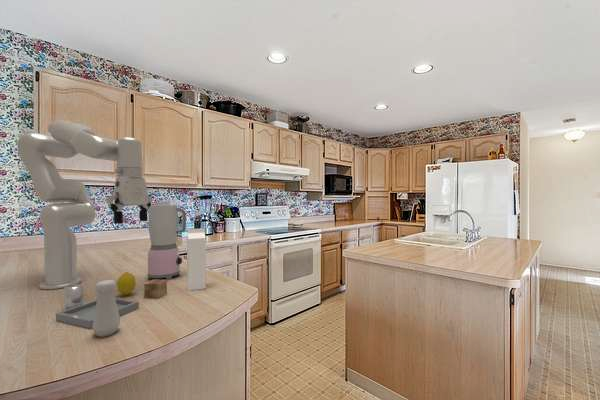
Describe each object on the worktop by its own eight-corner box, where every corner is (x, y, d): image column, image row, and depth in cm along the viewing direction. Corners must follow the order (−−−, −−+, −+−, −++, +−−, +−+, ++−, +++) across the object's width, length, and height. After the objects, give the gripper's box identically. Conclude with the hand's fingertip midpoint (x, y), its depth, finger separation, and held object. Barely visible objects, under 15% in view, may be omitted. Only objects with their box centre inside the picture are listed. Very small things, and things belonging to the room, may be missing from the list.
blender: (141, 281, 112) (140, 201, 112) (157, 272, 125) (156, 201, 124) (180, 281, 112) (179, 201, 112) (192, 272, 124) (191, 201, 124)
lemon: (127, 298, 93) (126, 274, 93) (113, 297, 94) (112, 274, 94) (139, 293, 99) (139, 270, 98) (126, 292, 100) (126, 269, 100)
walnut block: (144, 298, 94) (144, 283, 94) (153, 293, 99) (153, 279, 98) (158, 299, 93) (158, 284, 93) (166, 293, 98) (166, 279, 98)
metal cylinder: (61, 311, 83) (61, 287, 83) (77, 305, 88) (77, 283, 87) (71, 313, 82) (70, 289, 82) (87, 307, 86) (86, 284, 86)
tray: (55, 320, 77) (55, 313, 77) (106, 302, 90) (106, 296, 90) (90, 328, 72) (90, 321, 72) (138, 308, 85) (138, 301, 85)
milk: (187, 286, 106) (186, 228, 106) (204, 284, 109) (203, 227, 109) (188, 291, 101) (187, 230, 100) (206, 288, 103) (205, 229, 103)
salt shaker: (102, 327, 73) (101, 277, 72) (125, 326, 73) (124, 277, 73) (86, 339, 67) (86, 285, 67) (112, 338, 67) (111, 284, 67)
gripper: (114, 171, 89) (115, 224, 89) (158, 174, 105) (159, 220, 105) (97, 172, 91) (99, 224, 92) (143, 175, 108) (144, 220, 108)
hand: (131, 222), depth 98 cm, fingers open, 9 cm apart
